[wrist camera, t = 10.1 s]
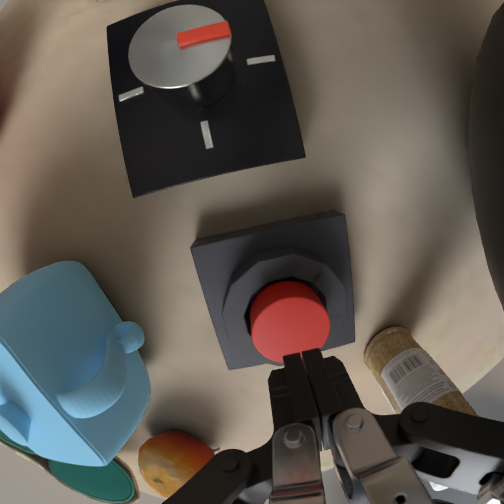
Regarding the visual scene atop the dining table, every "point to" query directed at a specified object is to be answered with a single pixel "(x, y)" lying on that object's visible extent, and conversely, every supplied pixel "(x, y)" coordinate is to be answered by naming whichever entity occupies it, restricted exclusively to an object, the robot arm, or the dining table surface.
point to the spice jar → (411, 375)
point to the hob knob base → (211, 117)
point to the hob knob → (184, 56)
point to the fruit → (172, 460)
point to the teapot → (69, 367)
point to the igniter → (275, 277)
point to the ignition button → (288, 320)
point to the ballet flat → (86, 476)
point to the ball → (489, 147)
